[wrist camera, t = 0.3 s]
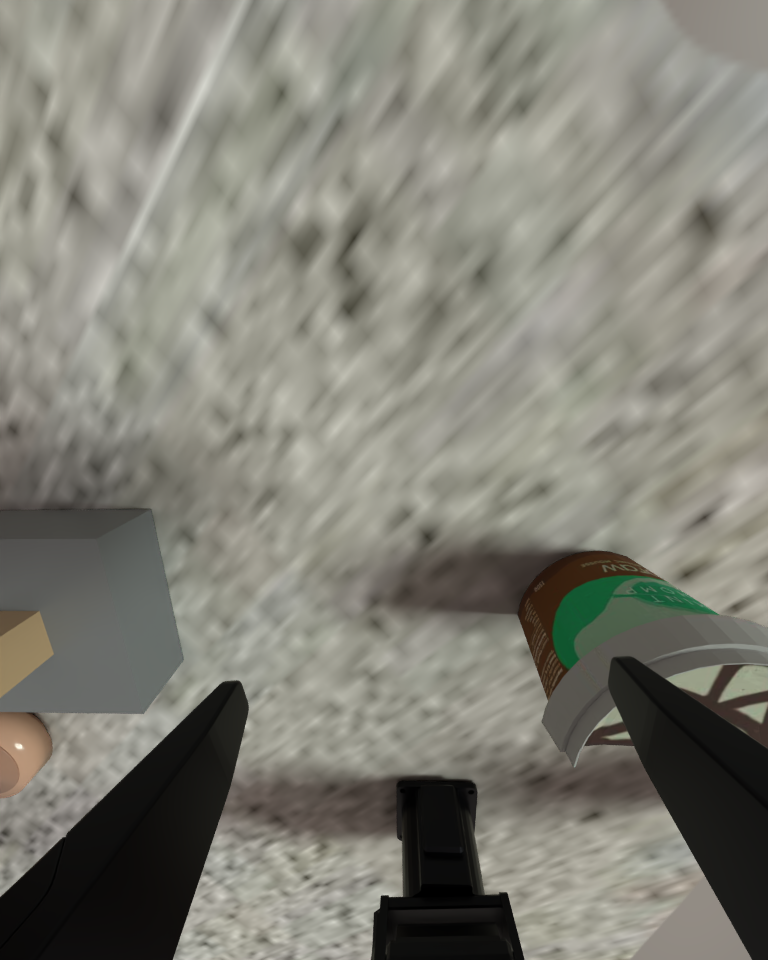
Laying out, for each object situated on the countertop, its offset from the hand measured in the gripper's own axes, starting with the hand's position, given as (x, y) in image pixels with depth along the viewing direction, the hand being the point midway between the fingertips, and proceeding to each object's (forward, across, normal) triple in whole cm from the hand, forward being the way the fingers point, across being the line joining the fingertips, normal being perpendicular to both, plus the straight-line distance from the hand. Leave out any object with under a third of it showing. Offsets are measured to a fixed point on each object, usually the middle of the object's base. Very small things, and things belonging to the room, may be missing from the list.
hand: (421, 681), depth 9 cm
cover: (+14, +23, +6) cm, 27 cm away
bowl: (+13, +33, +18) cm, 40 cm away
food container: (+14, -12, +8) cm, 20 cm away
